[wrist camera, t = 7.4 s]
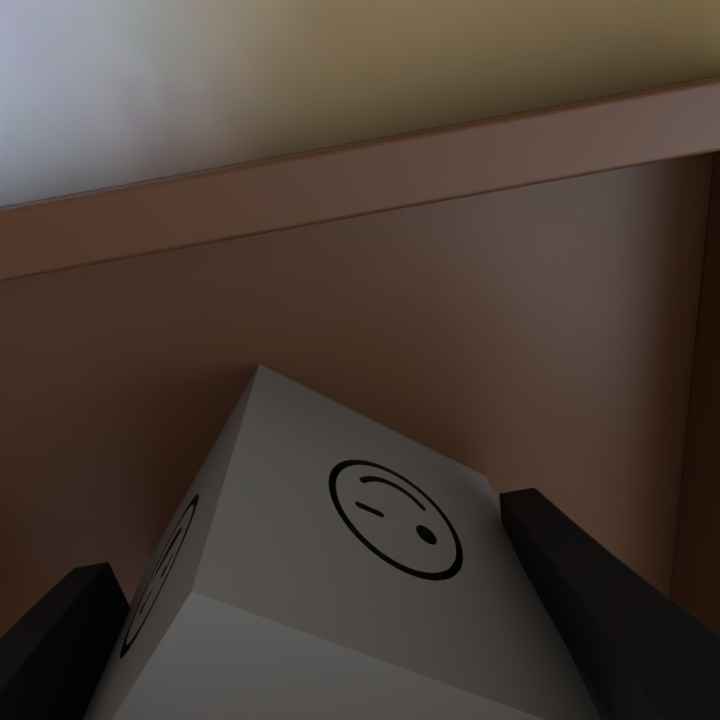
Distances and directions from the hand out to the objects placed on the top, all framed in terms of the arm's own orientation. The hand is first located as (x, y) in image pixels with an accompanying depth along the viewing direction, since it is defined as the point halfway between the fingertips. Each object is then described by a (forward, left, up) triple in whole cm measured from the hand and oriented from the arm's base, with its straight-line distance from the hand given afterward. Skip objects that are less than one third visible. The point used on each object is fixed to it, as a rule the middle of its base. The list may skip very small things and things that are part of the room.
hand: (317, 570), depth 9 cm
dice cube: (0, 0, -2) cm, 2 cm away
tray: (0, 0, -2) cm, 2 cm away
